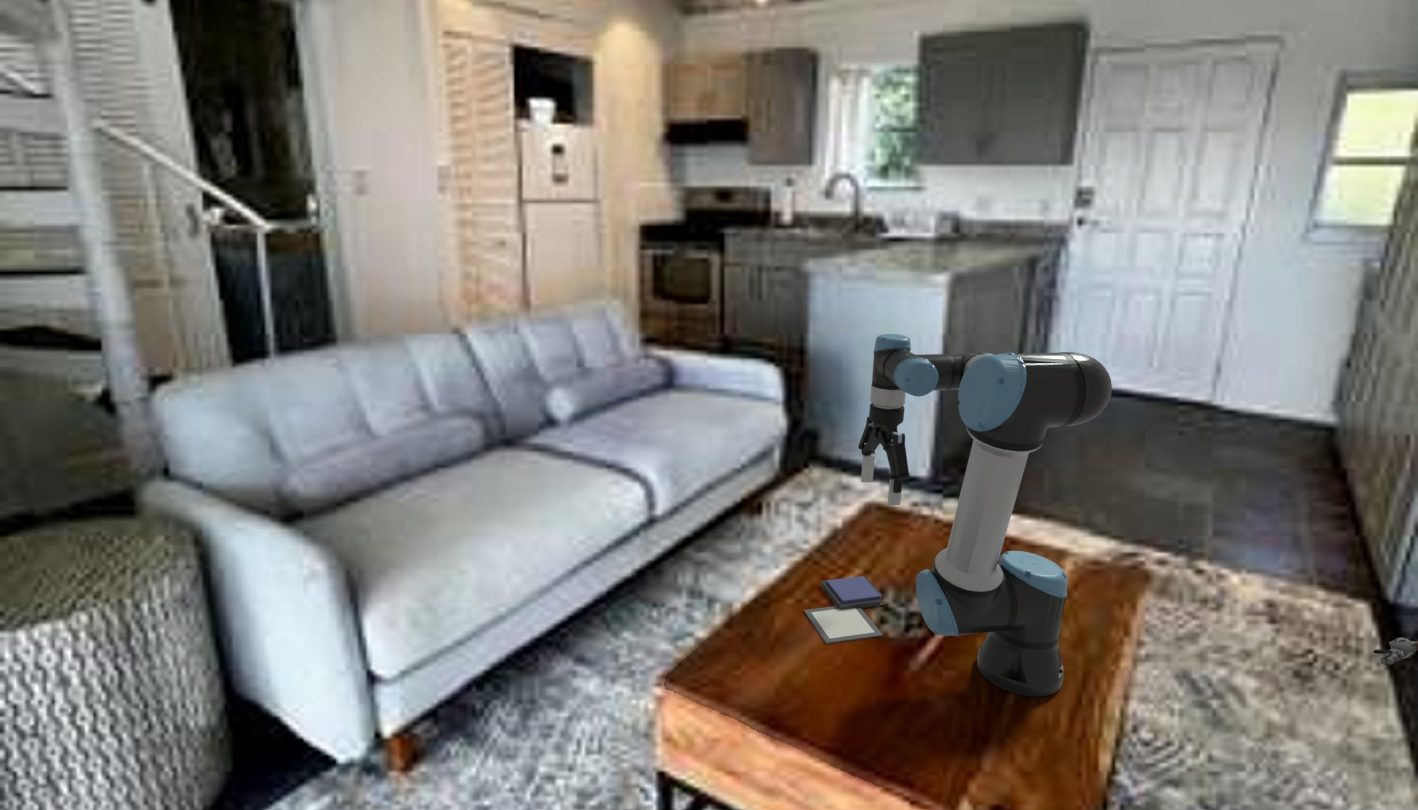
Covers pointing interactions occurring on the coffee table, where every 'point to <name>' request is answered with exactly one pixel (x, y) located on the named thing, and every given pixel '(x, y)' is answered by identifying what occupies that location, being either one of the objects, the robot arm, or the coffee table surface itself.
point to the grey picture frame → (842, 624)
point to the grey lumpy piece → (1398, 650)
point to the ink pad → (852, 592)
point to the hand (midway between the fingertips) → (879, 492)
